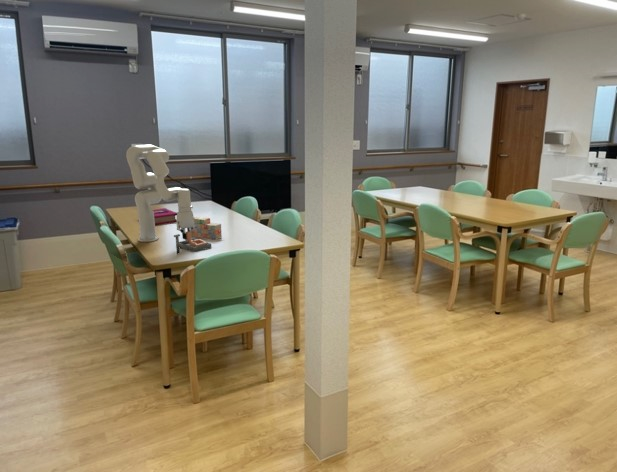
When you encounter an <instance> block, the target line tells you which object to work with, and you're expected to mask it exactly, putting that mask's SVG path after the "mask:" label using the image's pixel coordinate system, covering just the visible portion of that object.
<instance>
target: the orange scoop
mask: <svg viewBox="0 0 617 472" xmlns="http://www.w3.org/2000/svg"><path fill="white" fill-rule="evenodd" d="M185 233H186V237H187V239H186V242H189V243H190V246H192V247H197V246H201V245H205V244H207V242H206V241H205V240H203V239H200V238H198V239H196V240H191V239H192V236H191V232H190V231H188V232H187V231H185Z"/></svg>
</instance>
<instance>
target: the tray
mask: <svg viewBox="0 0 617 472" xmlns="http://www.w3.org/2000/svg"><path fill="white" fill-rule="evenodd" d="M191 240H197V239H196V238H191ZM179 247H181V248H180V249H183V248H184V249H183V250H186V249H187V250H186V251H189V250H190V252H193V251H195V252H198V251H203V250H208V249H210V248H212V243H210V242H207V244H205V245H201V246H197V247H192V246H190V243H189V242H186V240H185V239H184V240H181V241H179Z"/></svg>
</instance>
